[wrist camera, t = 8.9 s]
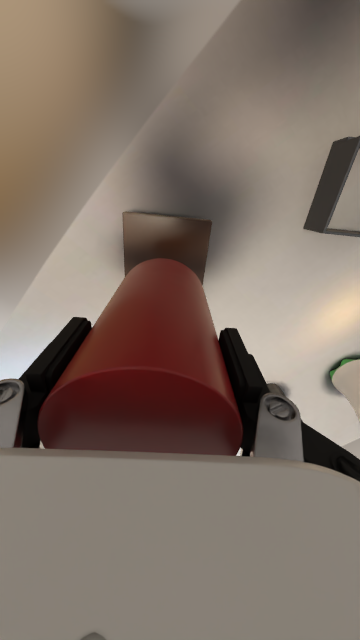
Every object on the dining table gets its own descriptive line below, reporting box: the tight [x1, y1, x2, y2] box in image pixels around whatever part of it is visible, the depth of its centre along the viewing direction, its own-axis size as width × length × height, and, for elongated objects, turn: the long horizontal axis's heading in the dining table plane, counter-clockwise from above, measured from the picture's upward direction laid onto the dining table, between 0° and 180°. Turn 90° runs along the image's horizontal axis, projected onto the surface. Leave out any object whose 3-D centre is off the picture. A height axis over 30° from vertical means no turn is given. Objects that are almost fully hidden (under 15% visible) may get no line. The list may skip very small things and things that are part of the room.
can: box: [37, 258, 243, 456], centre depth 12 cm, size 6×6×11 cm
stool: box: [123, 212, 212, 285], centre depth 29 cm, size 10×10×5 cm
